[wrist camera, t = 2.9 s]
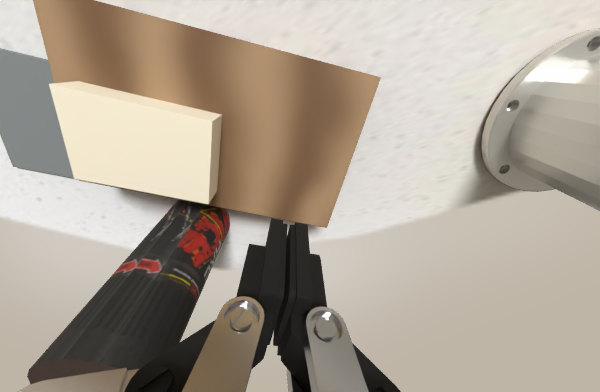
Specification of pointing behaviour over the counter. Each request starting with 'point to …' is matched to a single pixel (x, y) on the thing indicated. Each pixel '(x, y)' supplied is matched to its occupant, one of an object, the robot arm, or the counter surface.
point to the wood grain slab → (225, 100)
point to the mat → (30, 115)
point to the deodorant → (141, 298)
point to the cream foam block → (139, 141)
